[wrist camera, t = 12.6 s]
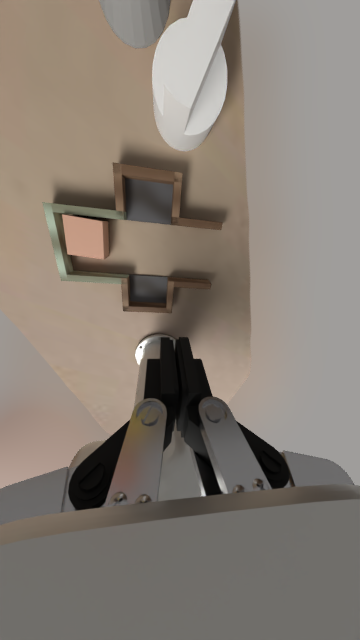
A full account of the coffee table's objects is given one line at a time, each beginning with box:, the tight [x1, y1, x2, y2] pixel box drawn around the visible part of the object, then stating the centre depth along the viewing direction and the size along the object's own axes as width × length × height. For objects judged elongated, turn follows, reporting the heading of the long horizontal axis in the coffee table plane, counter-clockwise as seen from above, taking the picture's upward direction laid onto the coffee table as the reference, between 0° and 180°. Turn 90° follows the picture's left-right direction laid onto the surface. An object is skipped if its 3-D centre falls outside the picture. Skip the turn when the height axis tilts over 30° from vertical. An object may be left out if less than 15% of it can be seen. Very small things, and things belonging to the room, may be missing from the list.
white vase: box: [152, 0, 236, 151], centre depth 21 cm, size 9×9×12 cm
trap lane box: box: [42, 163, 222, 313], centre depth 33 cm, size 24×29×3 cm
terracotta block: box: [62, 214, 109, 259], centre depth 31 cm, size 6×6×4 cm
